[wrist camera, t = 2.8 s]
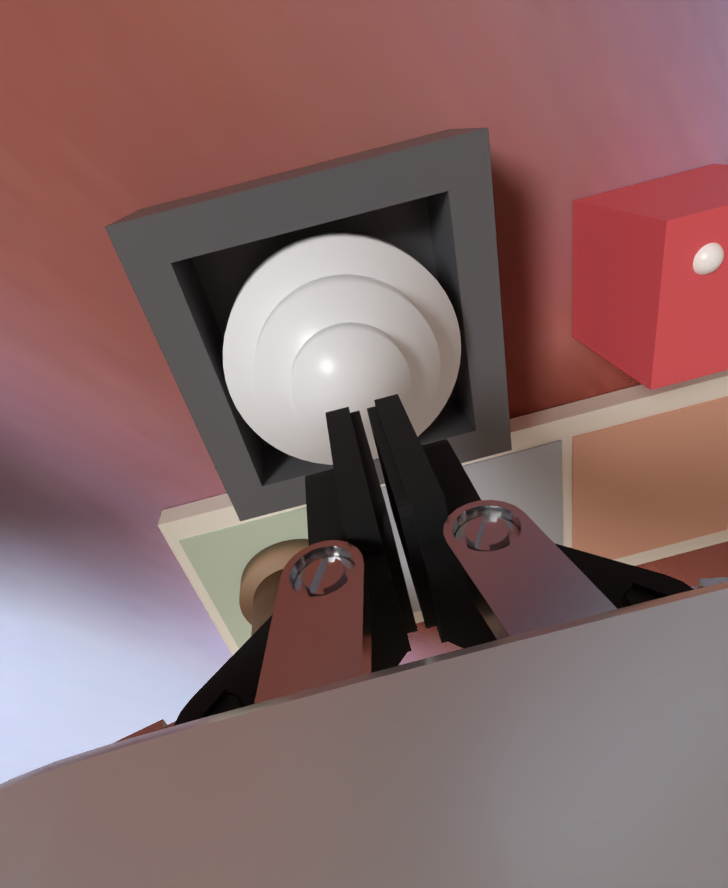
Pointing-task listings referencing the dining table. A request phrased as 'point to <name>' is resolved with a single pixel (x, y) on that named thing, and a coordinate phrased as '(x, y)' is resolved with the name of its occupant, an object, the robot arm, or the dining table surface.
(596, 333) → the die
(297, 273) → the dome
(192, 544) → the board
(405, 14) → the dining table surface
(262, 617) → the wooden pepper mill
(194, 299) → the dome housing
